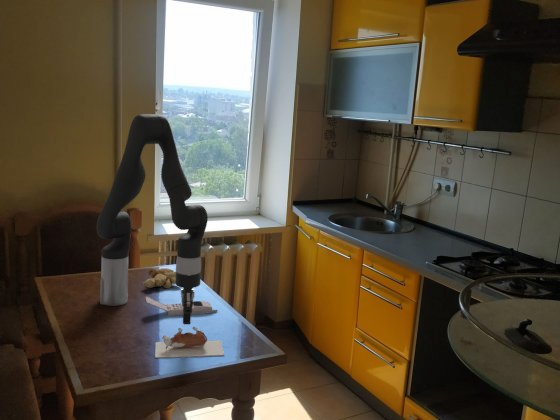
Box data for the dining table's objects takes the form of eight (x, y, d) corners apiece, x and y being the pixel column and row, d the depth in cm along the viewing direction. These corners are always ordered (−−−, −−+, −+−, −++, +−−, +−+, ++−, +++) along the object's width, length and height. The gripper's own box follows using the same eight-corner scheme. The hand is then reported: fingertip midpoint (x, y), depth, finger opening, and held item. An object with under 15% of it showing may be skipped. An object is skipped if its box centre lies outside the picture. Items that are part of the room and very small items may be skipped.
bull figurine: (163, 324, 165) (161, 338, 157) (207, 326, 167) (207, 339, 159) (162, 337, 166) (160, 351, 158) (206, 338, 168) (206, 352, 161)
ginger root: (180, 274, 227) (180, 258, 224) (183, 295, 214) (183, 278, 210) (142, 276, 223) (141, 259, 220) (142, 298, 209) (142, 280, 206)
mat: (155, 358, 155) (155, 357, 155) (155, 343, 164) (155, 342, 164) (224, 355, 159) (224, 354, 159) (220, 341, 169) (220, 340, 169)
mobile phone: (144, 296, 187) (214, 292, 196) (144, 312, 188) (214, 307, 197) (146, 302, 182) (218, 298, 190) (146, 319, 183) (217, 313, 191)
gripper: (175, 263, 169) (173, 315, 172) (176, 276, 156) (174, 332, 159) (199, 263, 171) (197, 315, 174) (202, 276, 158) (200, 331, 161)
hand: (186, 323), depth 166 cm, fingers closed
